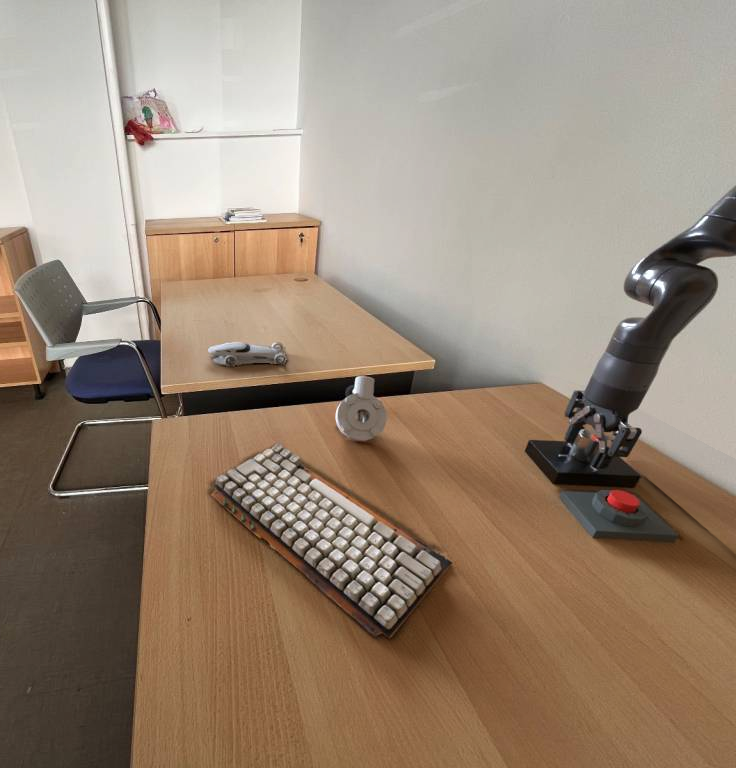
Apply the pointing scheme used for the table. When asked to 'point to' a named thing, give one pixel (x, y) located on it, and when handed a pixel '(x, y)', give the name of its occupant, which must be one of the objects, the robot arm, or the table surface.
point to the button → (623, 501)
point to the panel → (578, 467)
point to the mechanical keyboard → (332, 539)
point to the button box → (616, 518)
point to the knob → (585, 446)
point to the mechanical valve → (361, 411)
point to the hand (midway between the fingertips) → (583, 453)
